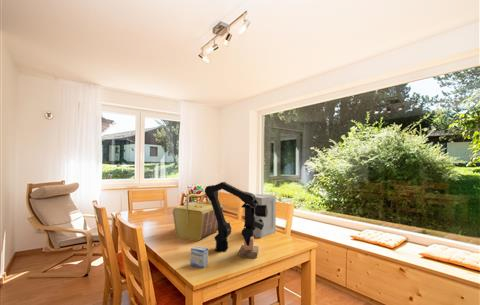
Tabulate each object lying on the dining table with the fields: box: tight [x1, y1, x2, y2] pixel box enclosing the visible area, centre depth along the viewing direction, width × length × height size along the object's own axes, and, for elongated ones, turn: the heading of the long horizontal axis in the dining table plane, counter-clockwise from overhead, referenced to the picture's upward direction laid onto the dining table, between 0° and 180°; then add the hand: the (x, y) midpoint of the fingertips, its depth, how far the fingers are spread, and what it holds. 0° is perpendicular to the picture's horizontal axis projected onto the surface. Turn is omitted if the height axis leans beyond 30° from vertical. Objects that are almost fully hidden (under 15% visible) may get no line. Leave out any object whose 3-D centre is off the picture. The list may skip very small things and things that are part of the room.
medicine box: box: [189, 245, 209, 269], centre depth 120 cm, size 8×4×9 cm, turn 69°
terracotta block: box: [243, 236, 255, 250], centre depth 136 cm, size 5×5×6 cm
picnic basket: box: [172, 191, 224, 242], centre depth 170 cm, size 29×26×30 cm
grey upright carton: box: [253, 193, 277, 239], centre depth 176 cm, size 19×15×28 cm
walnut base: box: [238, 244, 259, 259], centre depth 136 cm, size 10×10×3 cm
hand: (249, 242), depth 136 cm, fingers open, 9 cm apart
